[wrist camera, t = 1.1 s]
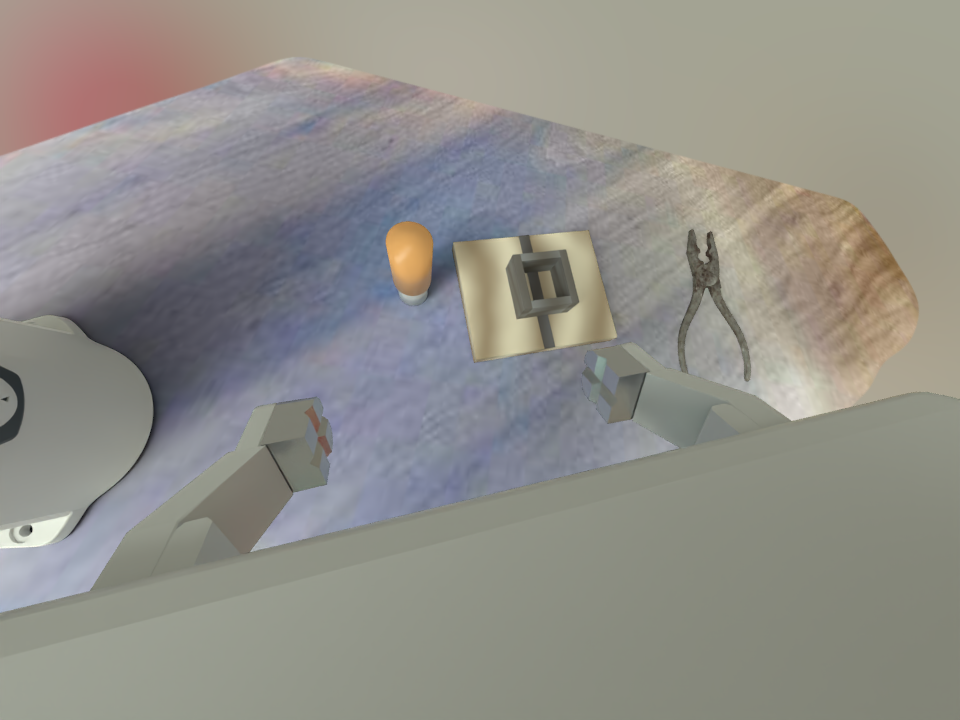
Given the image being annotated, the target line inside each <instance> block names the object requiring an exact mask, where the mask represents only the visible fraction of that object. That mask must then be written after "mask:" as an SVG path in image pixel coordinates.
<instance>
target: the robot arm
mask: <svg viewBox="0 0 960 720" xmlns="http://www.w3.org/2000/svg"><path fill="white" fill-rule="evenodd" d="M584 362H585V364H586V365H587V368H586V369H585V370H584V371H583V372H582V378H581V384H582V390H583V392H584V394H585V396H586V397H587V398H588V400H589V401H592V402H594V403H596V404H597V407H596V410H597V411H598V412H599V414H600V415H601V416H602V417H603V419H604V420H605V421H606V422H607V424H609V423H614V422H619V421H625V420H630V419H632V421H634V422H636V423H638V424H639V425H641V426H643V427H644V428H646V429H648V430H650V431H651V432H653V433H655V434H657V435H658V436H660V437H662V438H664V439H665V440H667V441H669V442H670V443H672V444H674V445H676V446H677V447H679V448H680V449H675V450H671V451H667V452H663V453H659V454H655V455H651V456H647V457H642V458H638V459H634V460H630V461H626V462H622V463H618V464H613V465H609V466H605V467H601V468H597V469H593V470H589V471H584V472H580V473H576V474H572V475H568V476H564V477H559V478H555V479H551V480H547V481H543V482H539V483H535V484H531V485H526V486H522V487H518V488H514V489H510V490H506V491H502V492H498V493H493V494H489V495H485V496H481V497H477V498H473V499H469V500H465V501H460V502H456V503H452V504H448V505H444V506H440V507H436V508H431V509H427V510H423V511H419V512H415V513H411V514H407V515H403V516H398V517H394V518H390V519H386V520H382V521H378V522H374V523H369V524H365V525H361V526H357V527H353V528H349V529H345V530H341V531H336V532H332V533H328V534H324V535H320V536H316V537H312V538H308V539H303V540H299V541H295V542H291V543H287V544H283V545H279V546H274V547H270V548H266V549H262V550H258V551H254V552H250V551H251V549H252V548H253V547H254V545H255V544H256V543H257V541H258V540H259V539H260V538H261V536H262V535H263V534H264V532H265V531H266V530H267V528H268V527H269V526H270V524H271V523H272V522H273V520H274V519H275V518H276V516H277V515H278V514H279V513H280V511H281V510H282V509H283V507H284V506H285V505H286V503H287V502H288V501H289V499H290V498H291V497H292V495H293V493H294V492H298V491H302V490H306V489H310V488H314V487H318V486H323V485H327V480H328V474H329V468H330V463H329V461H328V459H327V457H328V455H329V454H330V453H331V452H332V447H333V437H332V430H331V426H330V423H329V421H328V419H326V418H325V417H323V416H322V413H323V406H322V403H321V401H320V399H319V398H318V397H312V398H305V399H299V400H292V401H285V402H279V403H273V404H267V405H261V406H258V407H256V408H255V409H254V410H253V412H252V415H251V417H250V419H249V421H248V423H247V425H246V428H245V430H244V432H243V434H242V436H241V439H240V441H239V443H238V445H237V447H236V449H235V451H233V452H228V453H227V454H226V455H224V456H223V457H222V458H221V459H219V460H218V461H217V462H215V463H214V464H213V465H212V466H210V467H209V468H208V469H207V470H205V471H204V472H203V473H202V474H200V475H199V476H198V477H197V478H195V479H194V480H193V481H192V482H190V483H189V484H188V485H187V486H185V487H184V488H183V489H181V490H180V491H179V492H178V493H176V494H175V495H174V496H173V497H171V498H170V499H169V500H168V501H166V502H165V503H164V504H163V505H161V506H160V507H159V508H158V509H156V510H155V511H154V512H153V513H151V514H150V515H149V516H147V517H146V518H145V519H144V520H142V521H141V522H140V523H139V524H137V525H136V526H135V527H134V528H132V529H131V530H130V531H129V532H127V533H126V535H125V536H124V538H123V540H122V541H121V543H120V544H119V546H118V547H117V549H116V551H115V552H114V554H113V555H112V557H111V558H110V560H109V562H108V563H107V565H106V566H105V568H104V570H103V571H102V573H101V574H100V576H99V577H98V579H97V581H96V582H95V584H94V585H93V587H92V588H91V590H90V591H89V592H84V593H80V594H76V595H72V596H68V597H64V598H60V599H55V600H51V601H47V602H43V603H39V604H35V605H31V606H27V607H22V608H18V609H14V610H10V611H6V612H2V613H0V720H960V399H957V398H953V397H949V396H944V395H939V394H934V393H929V392H913V393H907V394H902V395H898V396H894V397H890V398H886V399H882V400H878V401H874V402H870V403H866V404H862V405H858V406H853V407H849V408H845V409H841V410H837V411H832V412H828V413H824V414H820V415H816V416H812V417H808V418H803V419H799V420H795V421H791V420H789V419H788V418H787V417H785V416H784V415H782V414H781V413H779V412H778V411H777V410H775V409H774V408H772V407H771V406H769V405H768V404H767V403H765V402H764V401H762V400H761V399H759V398H758V397H757V396H755V395H752V394H748V393H745V392H742V391H739V390H736V389H733V388H730V387H727V386H724V385H721V384H718V383H715V382H712V381H709V380H705V379H702V378H699V377H696V376H693V375H690V374H687V373H684V372H681V371H678V370H675V369H672V368H668V369H666V368H664V367H663V366H662V365H661V364H660V363H658V362H657V361H656V360H655V359H653V358H652V357H651V356H650V355H649V354H647V353H646V352H645V351H644V350H642V349H641V348H640V347H639V346H637V345H636V344H634V343H631V342H630V343H625V344H620V345H616V346H612V347H606V348H601V349H595V350H590V351H587V353H586V355H585V360H584ZM152 421H153V400H152V395H151V391H150V388H149V385H148V383H147V381H146V379H145V377H144V376H143V374H142V373H141V371H140V370H139V369H138V368H137V367H136V365H135V364H134V363H133V362H131V361H130V360H129V359H128V358H126V357H125V356H124V355H122V354H120V353H119V352H117V351H115V350H113V349H111V348H108V347H106V346H103V345H101V344H99V343H96V342H94V341H92V340H91V339H89V338H88V337H87V336H86V335H85V333H84V332H83V331H82V330H81V329H80V328H79V327H78V326H77V325H76V324H75V323H74V322H72V321H71V320H69V319H67V318H64V317H59V316H54V315H45V316H40V317H36V318H33V319H29V320H25V321H21V322H19V321H14V320H9V319H4V318H0V548H22V547H39V546H45V545H50V544H54V543H57V542H60V541H61V540H63V539H64V538H66V537H67V536H68V535H69V534H70V532H71V531H72V530H73V529H74V527H75V526H76V525H77V523H78V522H79V520H80V519H81V517H82V516H83V514H84V512H85V511H86V509H87V508H88V506H89V505H90V504H91V503H92V502H93V501H95V500H96V499H97V498H98V497H99V496H101V495H102V494H103V493H104V492H106V491H107V490H108V489H110V488H111V487H112V486H113V485H115V484H116V483H117V482H118V481H119V480H120V479H121V478H122V477H123V476H124V475H125V474H126V473H127V472H128V471H129V470H130V468H131V467H132V466H133V465H134V463H135V462H136V460H137V459H138V457H139V456H140V454H141V452H142V451H143V449H144V447H145V445H146V442H147V440H148V437H149V434H150V431H151V427H152ZM31 526H32V527H33V531H32V533H31V532H30V527H31ZM249 552H250V553H249Z"/></svg>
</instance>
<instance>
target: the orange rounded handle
mask: <svg viewBox="0 0 960 720" xmlns="http://www.w3.org/2000/svg"><path fill="white" fill-rule="evenodd" d="M386 247H387V252H388V257H389V262H390V267H391V272H392V277H393V282H394V285H395V287H396V288H397V289H398V292H399V296H400V299H401V300H402V301H403V302H404V303H405V304H407V305H410V306H418V305H420V304H422V303H423V302H424V301H425V300H426V298H427V295H428V288H429V286H430V284H431V274H432V255H433V239H432V236H431V234H430V232H429V231H428V230H427V229H426V228H425V227H424V226H422V225H421V224H418V223H416V222H410V221H406V222H401V223H398V224H396V225H394V226H393V227H392V228H391V229H390V230H389V232H388V234H387V236H386Z"/></svg>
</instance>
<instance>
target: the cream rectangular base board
mask: <svg viewBox="0 0 960 720" xmlns="http://www.w3.org/2000/svg"><path fill="white" fill-rule="evenodd" d="M452 251H453V257H454V262H455V267H456V272H457V277H458V282H459V288H460V293H461V298H462V303H463V308H464V314H465V319H466V324H467V329H468V334H469V340H470V345H471V350H472V355H473V360H474V363H475V362H481V361H488V360H494V359H500V358H506V357H512V356H518V355H525V354H531V353H537V352H543V351H549V350H555V349H562V348H568V347H574V346H580V345H586V344H592V343H599V342H605V341H610V340H612V339H615V338H617V334H616V330H615V327H614V323H613V319H612V316H611V312H610V308H609V304H608V301H607V297H606V293H605V290H604V286H603V282H602V278H601V275H600V271H599V267H598V263H597V260H596V256H595V252H594V249H593V245H592V241H591V237H590V234H589V230H587V231H575V232H564V233H553V234H542V235H531V236H529V235H525V236H519V237H508V238H497V239H486V240H475V241H463V242H453V248H452Z"/></svg>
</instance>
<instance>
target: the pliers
mask: <svg viewBox="0 0 960 720" xmlns="http://www.w3.org/2000/svg"><path fill="white" fill-rule="evenodd" d="M707 246H708V250H707V252H706V256H707V257H709V260H710V262H708V263H706V264H704V262H703V261H700V260H699V259H698V254H699V253H700V249H699V248H698V247H697V245H696V236H695V233H694V230H693V229H692V230H690V231H689V235H688V244H687V253H686V254H687V257H688V261H689V265H690V268H691V272H692V276H693V295H692V299H691V302H690V305H689V307H688V309H687V312H686V314H685V317H684V319H683V321H682V324H681V327H680V330H679V337H678V356H679V362H680V367H681V371H682V372H684V373H687V374H688V371H687V367H686V362H685V356H684V344H685V337H686V332H687V330H688V327H689V325H690V323H691V321H692V319H693V317H694V315H695V313H696V311H697V309H698V307H699V305H700V302H701V299H702V296H703V293H704V289H705V288H708V289H709V292H710V294H711V296H712V298H713V300H714V302H715V304H716V306H717V308H718V309H719V311H720V312H721V314H722V315H723V316H724V318H725V319H726V321H727V322H728V324H729V325H730V327H731V329H732V330H733V332H734V333H735V335H736V337H737V339H738V342H739V344H740V347H741V350H742V354H743V359H744V379H745V381H749V380H750V375H751V365H750V356H749V351H748V347H747V343H746V340H745V338H744V335H743V333H742V331H741V329H740V327H739V326H738V324H737V322H736V321H735V319H734V318H733V316H732V314H731V313H730V311H729V309H728V308H727V306H726V304H725V302H724V300H723V298H722V296H721V291H720V288H721V285H720V280H719V261H718V254H717V250H716V246H715V242H714V238H713V234H712V232H711V231H710V232H709V233H708V234H707Z"/></svg>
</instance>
